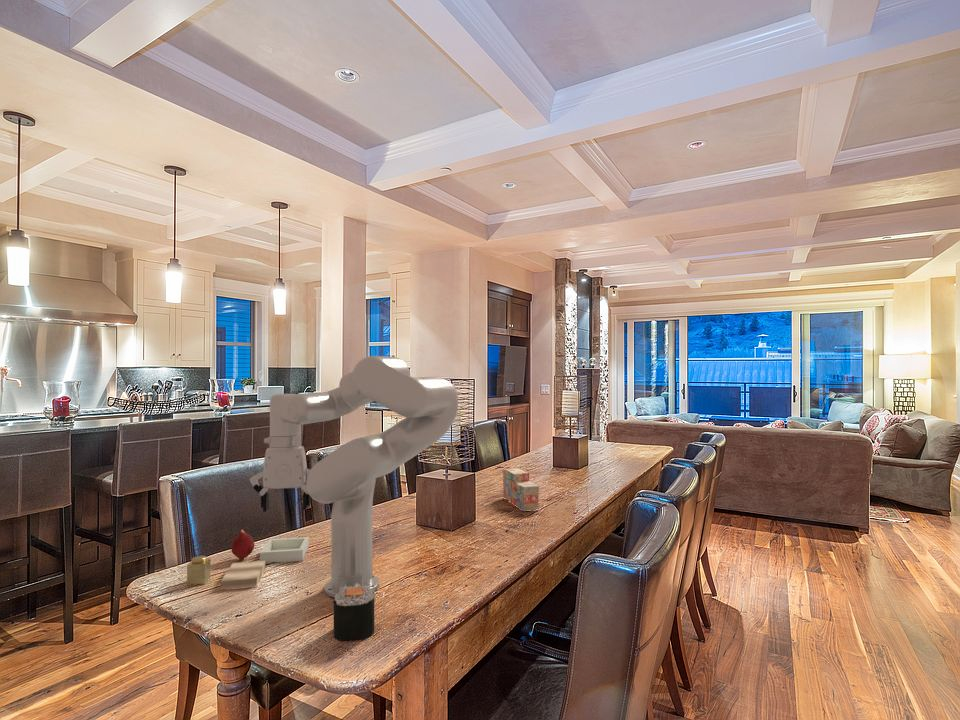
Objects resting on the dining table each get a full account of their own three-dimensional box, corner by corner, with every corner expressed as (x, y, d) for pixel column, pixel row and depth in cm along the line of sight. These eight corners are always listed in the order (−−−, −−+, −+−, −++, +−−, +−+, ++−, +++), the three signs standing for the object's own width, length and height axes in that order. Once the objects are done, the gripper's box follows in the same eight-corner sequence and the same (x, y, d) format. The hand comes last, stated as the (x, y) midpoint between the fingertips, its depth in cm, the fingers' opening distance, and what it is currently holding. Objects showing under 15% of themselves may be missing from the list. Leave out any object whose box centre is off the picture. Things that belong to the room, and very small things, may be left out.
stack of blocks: (539, 511, 189) (538, 477, 189) (523, 512, 187) (522, 478, 187) (517, 497, 209) (517, 467, 210) (503, 498, 207) (502, 468, 208)
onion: (258, 556, 145) (258, 527, 145) (244, 564, 139) (244, 534, 139) (241, 554, 146) (241, 526, 146) (226, 562, 141) (226, 532, 141)
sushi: (331, 644, 98) (331, 601, 98) (335, 623, 106) (335, 584, 107) (375, 639, 100) (375, 598, 100) (375, 619, 108) (375, 580, 108)
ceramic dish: (302, 561, 141) (302, 549, 141) (259, 563, 139) (259, 552, 139) (308, 547, 152) (308, 537, 152) (269, 549, 150) (269, 539, 150)
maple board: (256, 588, 125) (256, 578, 125) (220, 592, 123) (220, 581, 123) (265, 569, 136) (265, 560, 136) (232, 572, 134) (232, 563, 135)
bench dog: (204, 584, 126) (204, 560, 126) (187, 585, 125) (187, 561, 125) (210, 577, 130) (210, 554, 130) (193, 579, 129) (193, 555, 129)
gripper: (245, 445, 127) (245, 515, 127) (318, 443, 130) (318, 511, 130) (254, 441, 135) (254, 507, 135) (322, 439, 137) (323, 504, 137)
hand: (285, 509), depth 132 cm, fingers open, 9 cm apart
